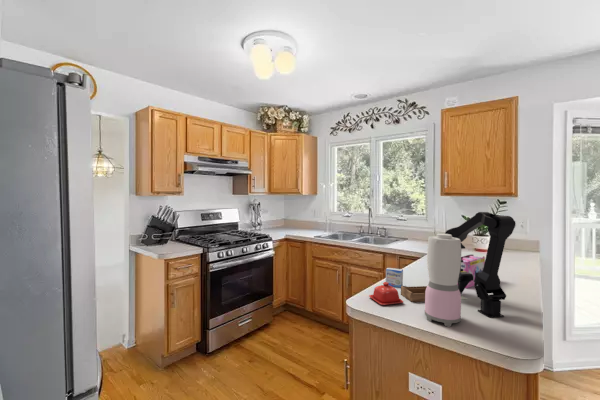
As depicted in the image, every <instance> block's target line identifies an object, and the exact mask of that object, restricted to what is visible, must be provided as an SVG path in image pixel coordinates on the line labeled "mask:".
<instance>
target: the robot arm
mask: <svg viewBox="0 0 600 400" xmlns="http://www.w3.org/2000/svg"><path fill="white" fill-rule="evenodd" d="M481 226H486V227H487V231H488V234H489V242H488V247H487V250H486V251H487V252H486V255H485V263H484V268H483V271H482V272H477V273H476V274H475V280H474V276H473V275H472V274H471V273H468V272H460V273H459V278H458V289H459V291H460V293H461V295H462V294H463V292H464V291H465V289H466V288H465V287H466V286H467V285H468V283H469V282H471V281H473V280H474V282H475V283H474V286H473V287H474V289H475V293H476V297H477V298H479V300H480V309H477V312H479V313H480V314H482V315H484V316H486V317H488V318H503V317H505V315H503V314H502V312H501V311H502V310H501V308H502V302H501V301H502V300H506V299H507V294H506V292H505V291H504V290H503V288H502V286H501V278H500V277H499V270H500V266H501V261H502V258H503V253H504V249H505V244H506V240H507V239H509V237H511V235H512V234H513V232H514V230H515V227H516V220H514V218H513V217H512V216H510V215H499V214H494V213H491V212H488V211H478V212H476V213H475V215H473V216H472V217H471V218H469V219H467V220H466V221H465V222H463V223H462V224H460V225H458V226H455V227H452V228H450V229H447V230H446V231H445V233H444V234H450V235H452V237H454V238H458V239H460V240H461V250H463V249H466V247H465V245H464V244H463V243H462V242H464V241H465V240H466V239H467V238H468V235H469V234H471V233H472V232H473V231H474V230H475V231H476V230H477V229H478V228H480V227H481ZM461 262H463V260H461ZM460 271H463V269H461V267H460Z"/></svg>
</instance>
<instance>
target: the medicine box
mask: <svg viewBox="0 0 600 400" xmlns="http://www.w3.org/2000/svg"><path fill="white" fill-rule="evenodd" d="M385 282H388V283H389V286H392V287H394V288H399V289H401V286H403V282H404V269H401V268H395V267H387V268H386V269H385ZM403 287H404V286H403Z"/></svg>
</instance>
